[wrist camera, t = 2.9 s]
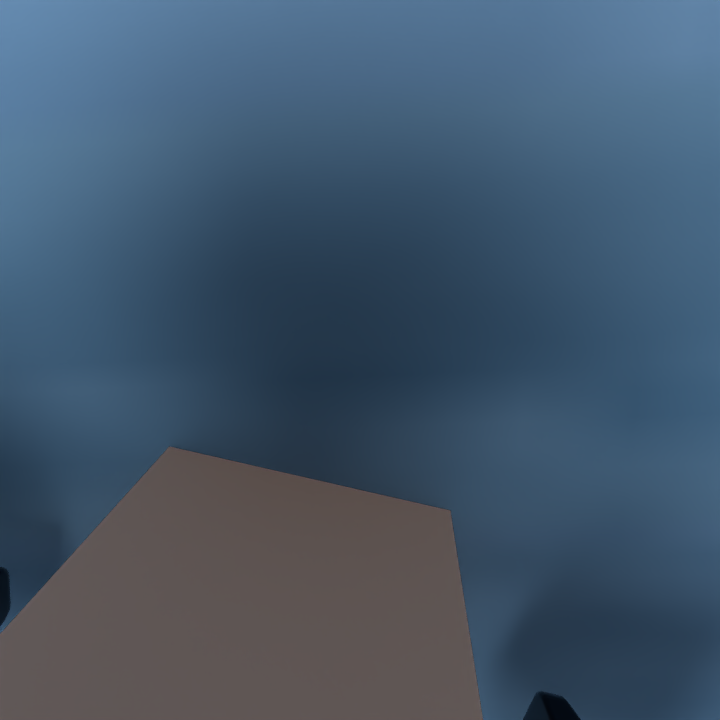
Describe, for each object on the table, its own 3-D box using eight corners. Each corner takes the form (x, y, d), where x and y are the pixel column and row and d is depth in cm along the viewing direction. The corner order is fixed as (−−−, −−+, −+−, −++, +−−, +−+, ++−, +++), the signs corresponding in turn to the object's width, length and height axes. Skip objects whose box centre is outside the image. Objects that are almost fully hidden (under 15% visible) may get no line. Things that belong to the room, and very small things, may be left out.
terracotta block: (385, 700, 10) (373, 1145, 5) (154, 647, 10) (-60, 1044, 5) (449, 507, 8) (513, 913, 4) (171, 443, 8) (-121, 767, 4)
